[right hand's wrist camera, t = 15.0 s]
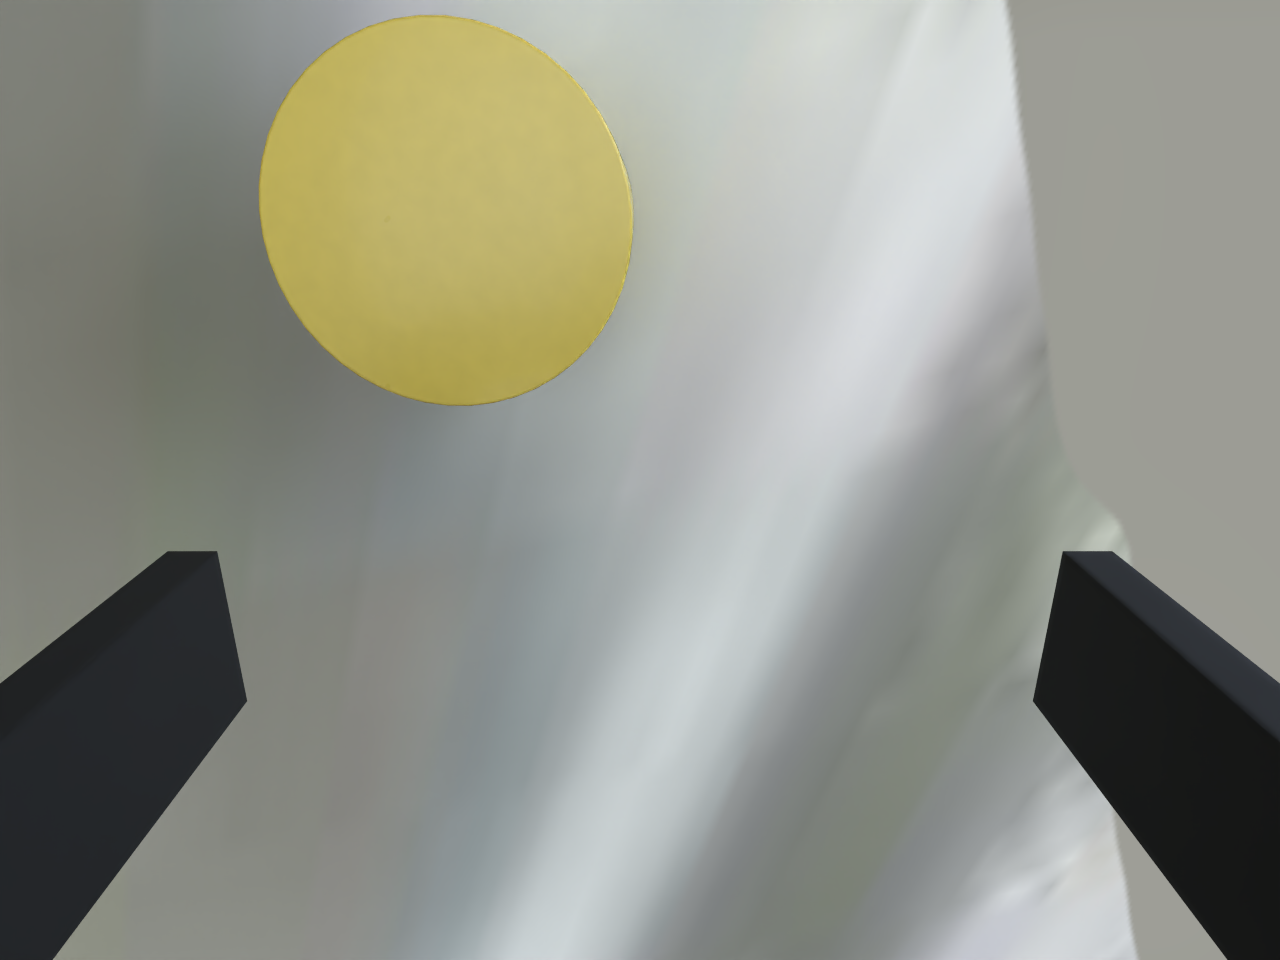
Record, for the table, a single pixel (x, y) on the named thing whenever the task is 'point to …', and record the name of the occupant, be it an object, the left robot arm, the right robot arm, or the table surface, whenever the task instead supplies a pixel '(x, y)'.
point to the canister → (445, 210)
